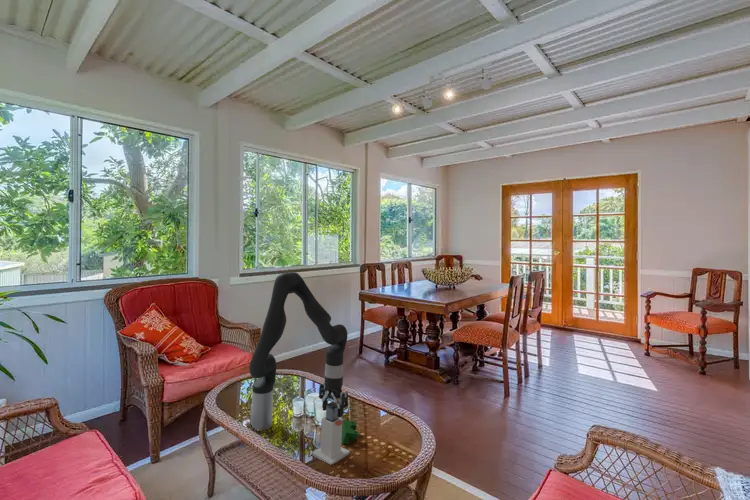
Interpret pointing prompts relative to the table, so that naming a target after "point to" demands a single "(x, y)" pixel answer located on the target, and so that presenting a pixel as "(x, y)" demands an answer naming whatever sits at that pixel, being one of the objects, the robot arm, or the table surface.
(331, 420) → the column
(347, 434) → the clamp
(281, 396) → the table surface
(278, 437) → the table surface
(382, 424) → the table surface
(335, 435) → the stand housing
